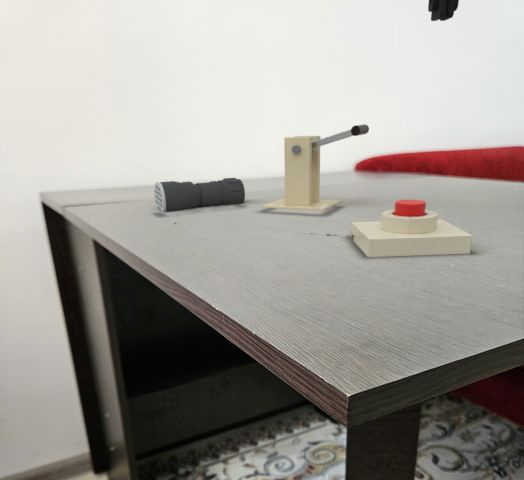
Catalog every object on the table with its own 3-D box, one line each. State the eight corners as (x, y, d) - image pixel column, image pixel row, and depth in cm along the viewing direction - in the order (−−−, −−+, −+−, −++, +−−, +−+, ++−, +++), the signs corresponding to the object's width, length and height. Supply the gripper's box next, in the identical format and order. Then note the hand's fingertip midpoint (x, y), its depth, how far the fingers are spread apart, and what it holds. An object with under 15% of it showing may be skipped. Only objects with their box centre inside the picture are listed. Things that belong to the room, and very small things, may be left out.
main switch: (370, 135, 83) (367, 120, 82) (361, 137, 79) (358, 120, 78) (302, 156, 89) (299, 142, 89) (290, 159, 85) (287, 144, 85)
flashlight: (236, 204, 98) (234, 174, 95) (248, 208, 93) (247, 177, 91) (156, 212, 92) (152, 180, 89) (164, 217, 87) (161, 184, 85)
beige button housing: (440, 235, 70) (443, 205, 68) (470, 254, 61) (474, 219, 59) (351, 238, 70) (352, 208, 68) (367, 258, 61) (370, 223, 59)
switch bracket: (341, 207, 92) (343, 134, 87) (323, 216, 84) (325, 138, 80) (283, 204, 96) (283, 135, 91) (262, 212, 89) (260, 138, 84)
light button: (419, 213, 65) (420, 199, 65) (428, 218, 62) (430, 203, 61) (390, 214, 65) (391, 200, 65) (398, 219, 62) (399, 204, 61)
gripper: (400, -210, 50) (386, 15, 58) (554, -212, 50) (520, 12, 58) (381, -172, 57) (371, 25, 64) (516, -174, 57) (490, 22, 65)
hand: (441, 18), depth 61 cm, fingers closed
